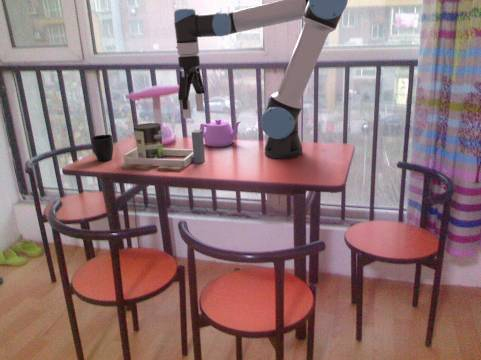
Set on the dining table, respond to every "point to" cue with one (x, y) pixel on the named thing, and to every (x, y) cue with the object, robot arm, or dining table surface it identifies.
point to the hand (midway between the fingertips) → (194, 114)
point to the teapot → (219, 133)
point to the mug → (103, 147)
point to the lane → (172, 154)
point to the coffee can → (149, 140)
